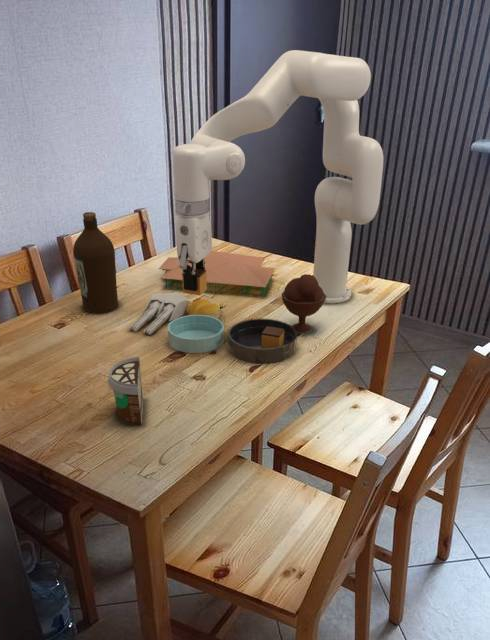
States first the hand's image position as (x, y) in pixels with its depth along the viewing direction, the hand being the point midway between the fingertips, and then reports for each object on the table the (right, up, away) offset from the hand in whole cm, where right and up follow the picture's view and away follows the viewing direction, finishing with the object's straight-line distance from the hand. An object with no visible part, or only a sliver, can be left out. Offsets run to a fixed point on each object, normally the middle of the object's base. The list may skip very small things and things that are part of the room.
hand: (194, 285), depth 157 cm
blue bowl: (0, -12, +9) cm, 15 cm away
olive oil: (-27, +1, +26) cm, 38 cm away
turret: (-10, -4, +20) cm, 23 cm away
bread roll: (+1, -3, +21) cm, 22 cm away
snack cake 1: (0, -1, +1) cm, 1 cm away
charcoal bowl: (+16, -14, +6) cm, 22 cm away
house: (+4, +13, +43) cm, 45 cm away
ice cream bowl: (+27, -8, +15) cm, 31 cm away
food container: (-13, -31, -18) cm, 38 cm away
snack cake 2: (+19, -14, +5) cm, 24 cm away
